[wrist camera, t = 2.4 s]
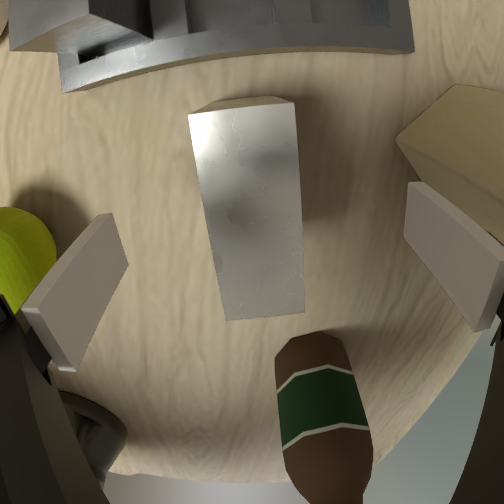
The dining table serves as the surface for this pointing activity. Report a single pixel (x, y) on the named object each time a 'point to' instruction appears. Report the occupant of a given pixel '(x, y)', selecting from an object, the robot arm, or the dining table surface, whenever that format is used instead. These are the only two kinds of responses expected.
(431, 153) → the cream tall block
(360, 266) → the dining table surface
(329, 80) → the dining table surface
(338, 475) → the beer bottle
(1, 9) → the potion bottle
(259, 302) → the silver rectangular block
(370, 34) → the rack
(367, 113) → the dining table surface
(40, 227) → the fruit
